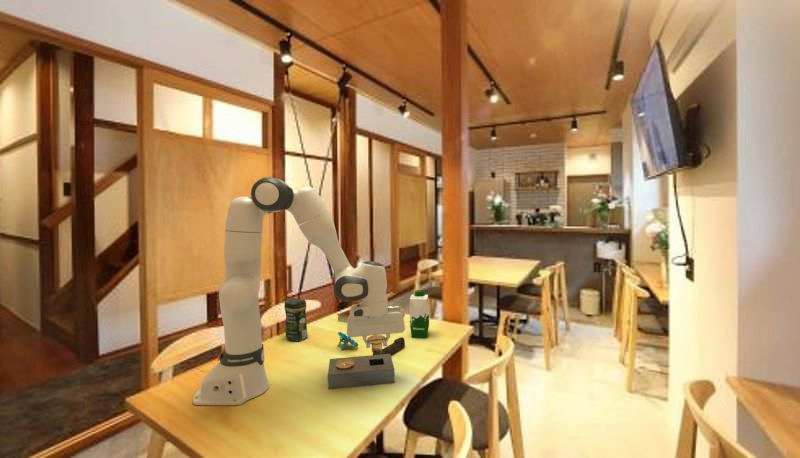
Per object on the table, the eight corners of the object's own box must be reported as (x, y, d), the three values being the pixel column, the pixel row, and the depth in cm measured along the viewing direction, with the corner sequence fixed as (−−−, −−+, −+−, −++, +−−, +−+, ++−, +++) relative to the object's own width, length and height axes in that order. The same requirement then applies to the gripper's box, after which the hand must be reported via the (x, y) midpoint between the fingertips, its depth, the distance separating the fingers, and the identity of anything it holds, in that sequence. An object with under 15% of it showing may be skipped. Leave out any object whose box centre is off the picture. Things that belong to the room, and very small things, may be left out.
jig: (328, 389, 116) (327, 372, 115) (330, 372, 128) (329, 356, 127) (394, 382, 119) (394, 366, 118) (390, 366, 131) (390, 351, 130)
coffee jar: (282, 339, 161) (280, 299, 160) (296, 333, 168) (294, 295, 166) (297, 343, 156) (295, 302, 154) (310, 337, 163) (309, 297, 161)
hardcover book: (352, 315, 195) (352, 307, 195) (382, 321, 183) (382, 313, 183) (337, 321, 185) (336, 313, 185) (367, 328, 173) (367, 320, 173)
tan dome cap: (368, 356, 120) (367, 342, 119) (367, 348, 126) (366, 335, 126) (387, 354, 121) (386, 340, 120) (385, 346, 127) (384, 334, 127)
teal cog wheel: (363, 345, 147) (346, 332, 144) (355, 358, 145) (337, 345, 141) (351, 341, 156) (335, 328, 153) (343, 353, 154) (326, 340, 150)
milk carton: (429, 331, 166) (429, 289, 164) (428, 339, 157) (427, 294, 155) (411, 331, 167) (410, 289, 165) (409, 338, 158) (408, 294, 156)
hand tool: (379, 364, 133) (379, 352, 133) (372, 361, 136) (371, 350, 135) (409, 348, 148) (409, 337, 148) (402, 345, 151) (402, 335, 150)
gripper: (403, 303, 127) (404, 340, 128) (345, 307, 124) (347, 345, 125) (406, 308, 121) (407, 347, 122) (345, 312, 118) (347, 352, 119)
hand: (376, 346), depth 123 cm, fingers closed on tan dome cap, 4 cm apart
